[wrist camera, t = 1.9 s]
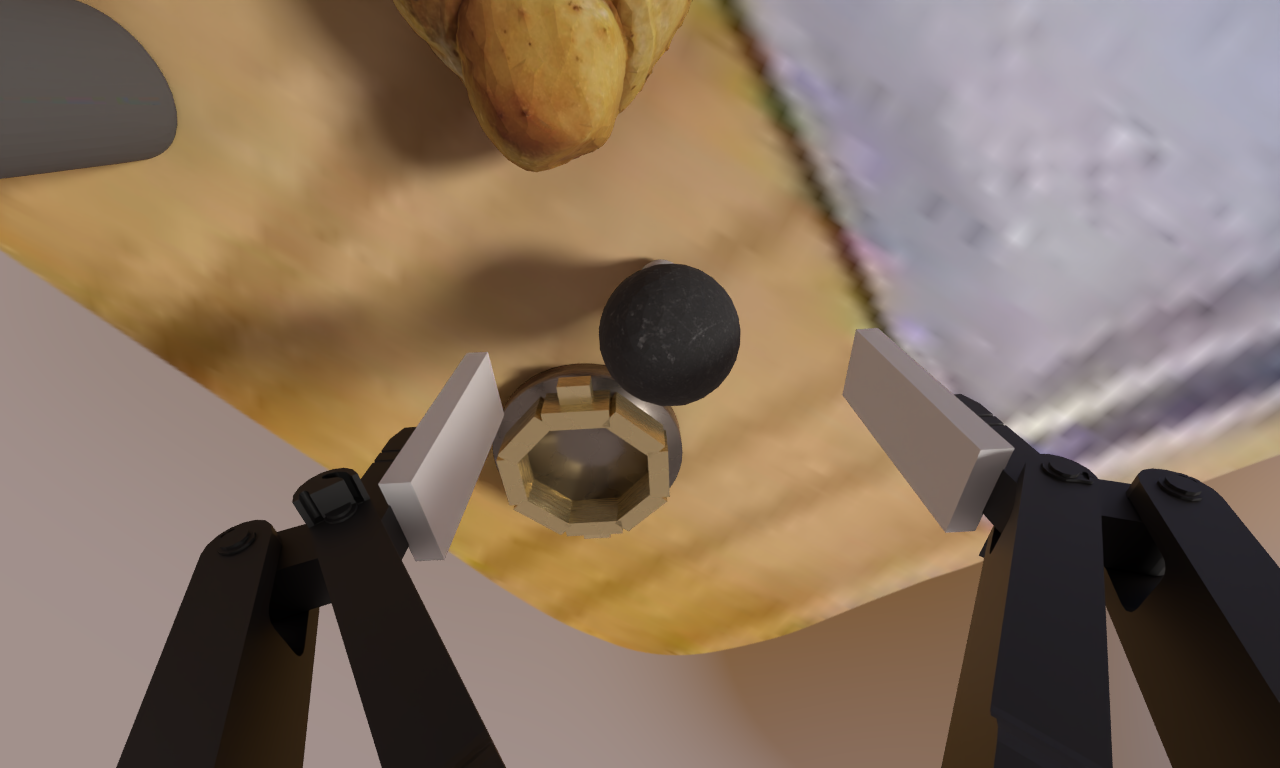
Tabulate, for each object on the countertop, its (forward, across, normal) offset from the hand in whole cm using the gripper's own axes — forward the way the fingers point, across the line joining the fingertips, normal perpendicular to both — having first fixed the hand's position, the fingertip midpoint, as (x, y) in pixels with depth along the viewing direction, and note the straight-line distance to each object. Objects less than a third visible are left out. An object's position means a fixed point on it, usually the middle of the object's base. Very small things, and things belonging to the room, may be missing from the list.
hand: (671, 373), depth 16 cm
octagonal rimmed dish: (+10, -5, -10) cm, 15 cm away
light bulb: (+10, 0, +1) cm, 10 cm away
